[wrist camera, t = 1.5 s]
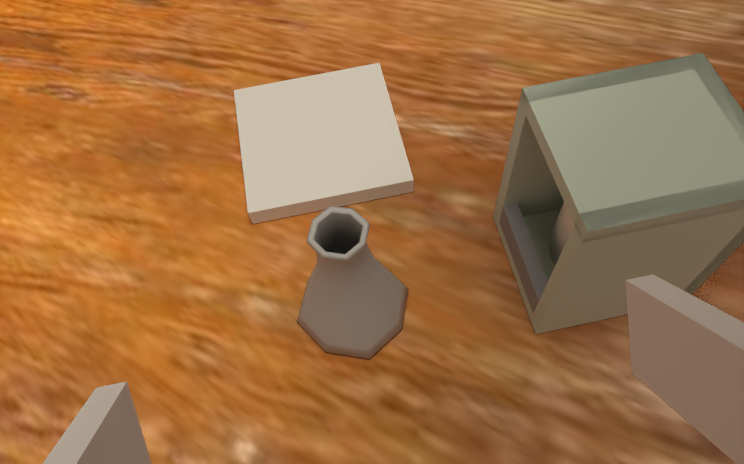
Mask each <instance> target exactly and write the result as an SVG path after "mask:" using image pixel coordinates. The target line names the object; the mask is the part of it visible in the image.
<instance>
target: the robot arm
mask: <svg viewBox="0 0 744 464" xmlns="http://www.w3.org/2000/svg"><path fill="white" fill-rule="evenodd" d="M625 281H626V296H627V310H628V325H629V339H630V353H631V368H632V374H633V375H634V376H635V377H637V378H638V379H639V380H640V381H641V382H642V383H644V384H645V385H646V386H647V387H648V388H649V389H650V390H652V391H653V392H654V393H655V394H656V395H657V396H659V397H660V398H661V399H662V400H663V401H664V402H666V403H667V404H668V405H669V406H670V407H671V408H672V409H674V410H675V411H676V412H677V413H678V414H679V415H681V416H682V417H683V418H684V419H685V420H686V421H687V422H689V423H690V424H691V425H692V426H693V427H694V428H696V429H697V430H698V431H699V432H700V433H701V434H702V435H704V436H705V437H706V438H707V439H708V440H709V441H711V442H712V443H713V444H714V445H715V446H716V447H718V448H719V449H720V450H721V451H722V452H723V453H724V454H726V455H727V456H728V457H729V458H730V459H731V460H733V461H734V462H735V463H736V464H744V322H742V321H740V320H738V319H736V318H734V317H733V316H731V315H729V314H727V313H725V312H723V311H721V310H719V309H717V308H716V307H714V306H712V305H710V304H708V303H706V302H704V301H702V300H700V299H698V298H697V297H695V296H693V295H691V294H689V293H687V292H685V291H683V290H681V289H680V288H678V287H676V286H674V285H672V284H670V283H668V282H666V281H664V280H663V279H661V278H659V277H657V276H655V275H653V274H652V275H648V276H643V277H638V278H633V279H628V280H625ZM43 464H152V463H151V460H150V457H149V453H148V450H147V447H146V443H145V440H144V437H143V433H142V430H141V427H140V423H139V420H138V417H137V413H136V410H135V407H134V403H133V400H132V397H131V393H130V390H129V387H128V383H127V382H122V383H117V384H112V385H108V386H103V387H98V388H96V389H95V390H94V392H93V393H92V394H91V396H90V397H89V399H88V400H87V401H86V403H85V404H84V406H83V407H82V409H81V410H80V411H79V413H78V414H77V416H76V417H75V418H74V420H73V421H72V423H71V424H70V426H69V427H68V428H67V430H66V431H65V433H64V434H63V435H62V437H61V438H60V440H59V441H58V443H57V444H56V445H55V447H54V448H53V450H52V451H51V453H50V454H49V455H48V457H47V458H46V460H45V461H44V462H43Z"/></svg>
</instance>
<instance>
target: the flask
mask: <svg viewBox="0 0 744 464" xmlns="http://www.w3.org/2000/svg"><path fill="white" fill-rule="evenodd" d="M369 227H370V224H369V223H368V222H367V221H366V220H365V219H364V218H363V217H362V216H361V215H360V214H358V213H357V212H356V211H355V210H354V209H350V208H343V207H335V206H330V207H328V208H327V209H326V210H325V211H323V212H322V213H321V214H319V215H318V216H317V217H316V218H314V219H313V220H312V223H311V227H310V231H309V234H308V238H307V243H308V244H309V245H310V246H311V247H312V248H313V249H314V250H315V251H316V254H317V264H316V267H315V269H314V270H313V272H312V274H311V276H310V278H309V280H308V282H307V285H306V289H305V293H304V297H303V301H302V304H301V308H300V312H299V316H298V320H297V322H298V323H299V324H300V325H301V326H302V327H303V329H304V330H305V331H306V332H307V333H308V334H309V335H310V336H311V337H312V338H313V339H314V340H315V341H316V343H317V344H318V345H319V346H320V347H321V348H322V349H323V350H324V351H325V352H329V353H335V354H341V355H347V356H354V357H360V358H366V359H370V358H371V357H372V356H373V355H374V354H375V353H376V352H378V351H379V350H380V349H381V348H382V347H383V346H384V345H385V344H386V343H387V342H388V341H390V340H391V339H392V338H393V337H394V336H395V335H396V334H397V333H398V332H399V331H400V330H402V325H403V319H404V313H405V307H406V301H407V295H408V288H407V287H406V286H405V285H404V284H402V283H401V282H400V281H399V280H398V279H397V278H396V277H395V276H394V275H393V274H392V273H391V272H390V271H389V270H387V269H386V268H385V267H384V266H383V265H382V264H381V263H380V262H379V261H378V260H377V259H375V258H374V257H373V255H372V253H371V251H370V249H369V247H368V246H367V244H366V241H367V236H368V231H369Z"/></svg>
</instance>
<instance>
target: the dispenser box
mask: <svg viewBox="0 0 744 464" xmlns="http://www.w3.org/2000/svg"><path fill="white" fill-rule="evenodd" d="M493 218H494V221H495V224H496V226H497V229H498V232H499V235H500V237H501V240H502V243H503V246H504V249H505V251H506V254H507V257H508V260H509V262H510V265H511V268H512V271H513V273H514V276H515V279H516V282H517V284H518V287H519V290H520V293H521V295H522V298H523V301H524V304H525V306H526V309H527V312H528V315H529V317H530V320H531V323H532V326H533V328H534V331H535V334H539V333H543V332H548V331H553V330H557V329H562V328H567V327H571V326H576V325H580V324H585V323H590V322H594V321H599V320H603V319H608V318H613V317H617V316H622V315H627V314H628V310H627V296H626V281H625V280H628V279H633V278H638V277H643V276H648V275H652V274H653V275H655V276H657V277H659V278H661V279H663V280H664V281H666V282H668V283H670V284H672V285H674V286H676V287H678V288H680V289H681V290H683V291H685V292H687V293H689V294H691V295H692V294H693V293H694V292H695V291H696V290H697V289H698V288H699V287H700V286H701V285H702V284H703V283H704V282H705V281H706V280H707V279H708V278H709V277H710V276H711V275H712V274H713V273H714V272H715V271H716V270H717V269H718V268H719V267H720V266H721V265H722V264H723V262H724V261H725V260H726V259H727V258H728V257H729V256H730V255H731V254H732V253H733V252H734V251H735V250H736V249H737V248H738V247H739V246H740V245H741V244H742V243H743V242H744V112H743V110H742V109H741V107H740V106H739V104H738V103H737V101H736V100H735V98H734V97H733V96H732V94H731V93H730V91H729V90H728V88H727V87H726V85H725V84H724V83H723V81H722V80H721V78H720V77H719V75H718V74H717V72H716V71H715V69H714V68H713V67H712V65H711V64H710V62H709V61H708V59H707V58H706V56H705V55H704V54H703V53H700V54H695V55H690V56H685V57H680V58H674V59H669V60H664V61H659V62H654V63H649V64H643V65H638V66H633V67H628V68H623V69H618V70H612V71H607V72H602V73H597V74H592V75H587V76H581V77H576V78H571V79H566V80H561V81H556V82H550V83H545V84H540V85H535V86H530V87H525V88H522V93H521V97H520V102H519V106H518V110H517V115H516V119H515V124H514V128H513V132H512V137H511V141H510V146H509V150H508V154H507V159H506V163H505V167H504V172H503V176H502V181H501V185H500V189H499V194H498V198H497V203H496V207H495V211H494V216H493Z"/></svg>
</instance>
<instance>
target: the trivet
mask: <svg viewBox="0 0 744 464" xmlns="http://www.w3.org/2000/svg"><path fill="white" fill-rule="evenodd" d="M234 95H235V104H236V113H237V122H238V130H239V139H240V148H241V156H242V165H243V174H244V183H245V191H246V200H247V209H248V214H249V217H250V219H251V221H252V223H253V224H255V223H260V222H265V221H270V220H275V219H280V218H285V217H290V216H295V215H300V214H305V213H310V212H315V211H320V210H325V209H327V208H328V207H330V206H335V207H340V206H345V205H350V204H355V203H360V202H365V201H370V200H375V199H380V198H385V197H390V196H395V195H400V194H405V193H410V192H414V179H413V176H412V173H411V169H410V166H409V162H408V159H407V156H406V152H405V149H404V145H403V142H402V139H401V135H400V132H399V128H398V125H397V121H396V118H395V115H394V111H393V108H392V104H391V101H390V98H389V94H388V91H387V87H386V84H385V81H384V77H383V74H382V70H381V67H380V63H376V64H371V65H366V66H360V67H355V68H350V69H344V70H339V71H334V72H328V73H323V74H318V75H313V76H307V77H302V78H297V79H291V80H286V81H281V82H275V83H270V84H265V85H260V86H254V87H249V88H244V89H238V90H234Z"/></svg>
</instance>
